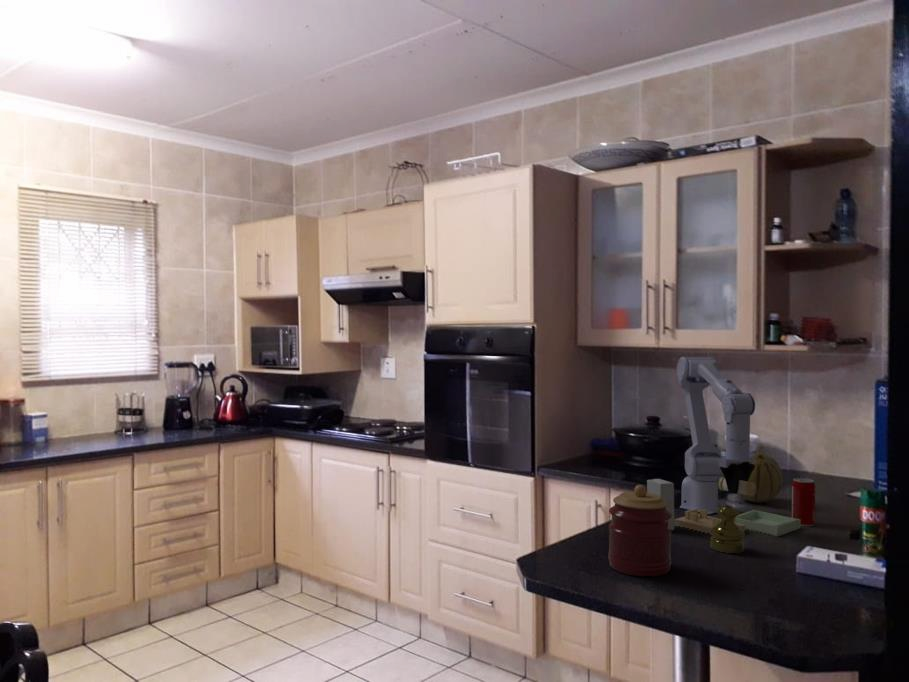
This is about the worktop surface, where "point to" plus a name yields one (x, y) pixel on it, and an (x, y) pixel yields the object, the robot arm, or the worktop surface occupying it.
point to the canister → (640, 534)
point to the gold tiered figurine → (727, 532)
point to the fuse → (744, 487)
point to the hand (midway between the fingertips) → (736, 492)
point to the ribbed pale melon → (765, 479)
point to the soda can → (803, 501)
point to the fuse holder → (700, 521)
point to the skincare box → (663, 494)
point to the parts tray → (768, 522)
